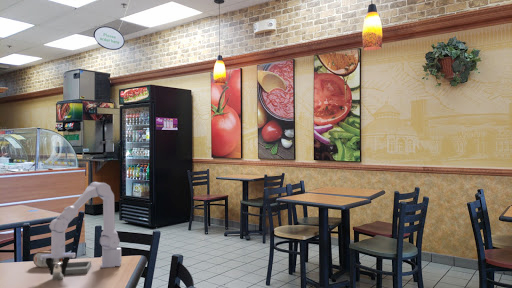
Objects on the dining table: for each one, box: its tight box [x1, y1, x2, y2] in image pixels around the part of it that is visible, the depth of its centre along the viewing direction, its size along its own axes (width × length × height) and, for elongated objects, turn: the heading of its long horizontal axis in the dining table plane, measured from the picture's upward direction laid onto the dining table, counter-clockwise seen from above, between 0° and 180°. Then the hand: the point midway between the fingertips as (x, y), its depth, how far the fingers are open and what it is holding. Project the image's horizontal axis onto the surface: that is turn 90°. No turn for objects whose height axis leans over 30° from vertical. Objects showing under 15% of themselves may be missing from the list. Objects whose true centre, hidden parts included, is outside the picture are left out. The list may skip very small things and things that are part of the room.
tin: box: [32, 249, 64, 269], centre depth 196 cm, size 15×3×8 cm, turn 84°
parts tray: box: [63, 260, 92, 276], centre depth 191 cm, size 12×12×2 cm
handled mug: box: [52, 262, 64, 281], centre depth 179 cm, size 4×6×7 cm
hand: (57, 273), depth 180 cm, fingers closed on handled mug, 4 cm apart
